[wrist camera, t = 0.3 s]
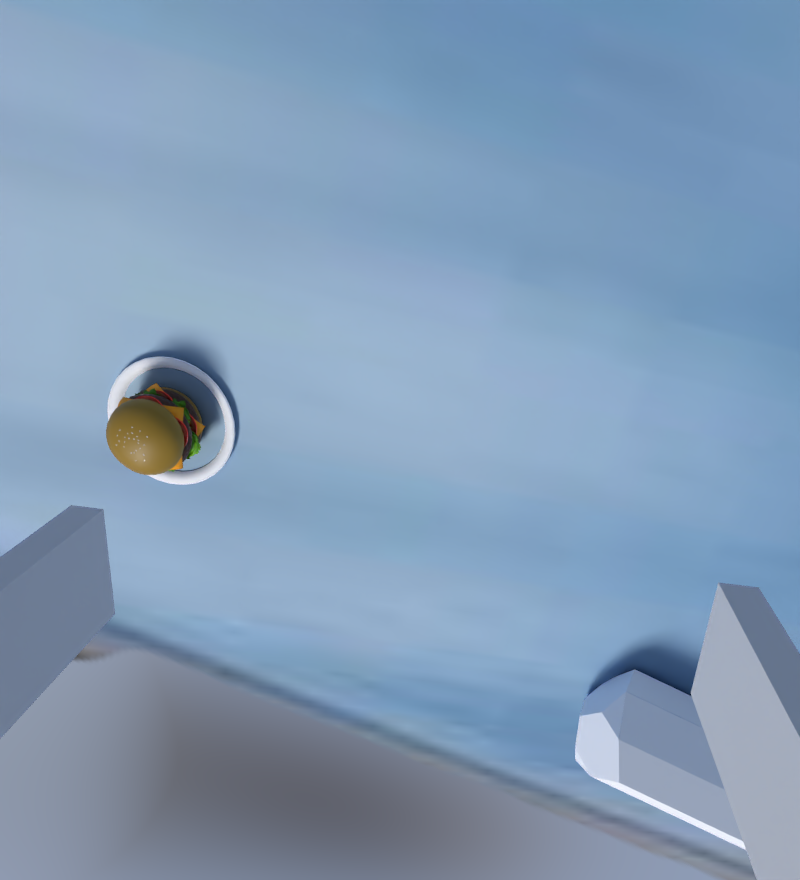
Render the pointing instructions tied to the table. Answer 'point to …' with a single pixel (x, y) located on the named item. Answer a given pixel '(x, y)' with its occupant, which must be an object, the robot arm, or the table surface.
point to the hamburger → (163, 425)
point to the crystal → (654, 751)
